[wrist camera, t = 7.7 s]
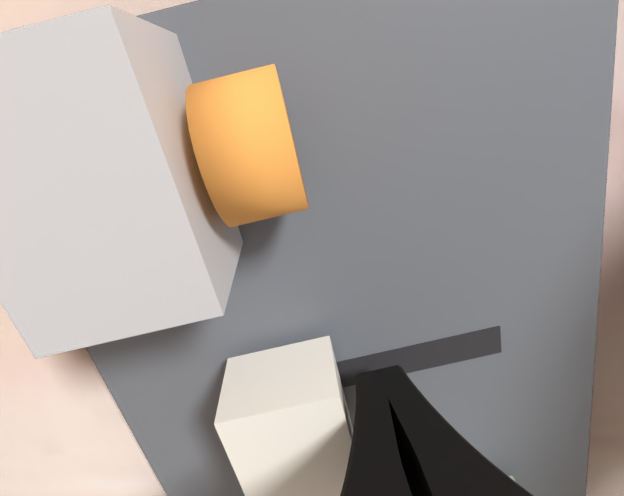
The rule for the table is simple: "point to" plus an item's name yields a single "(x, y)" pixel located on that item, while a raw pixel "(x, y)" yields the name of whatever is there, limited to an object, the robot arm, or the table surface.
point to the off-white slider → (286, 420)
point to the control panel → (321, 213)
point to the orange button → (245, 146)
